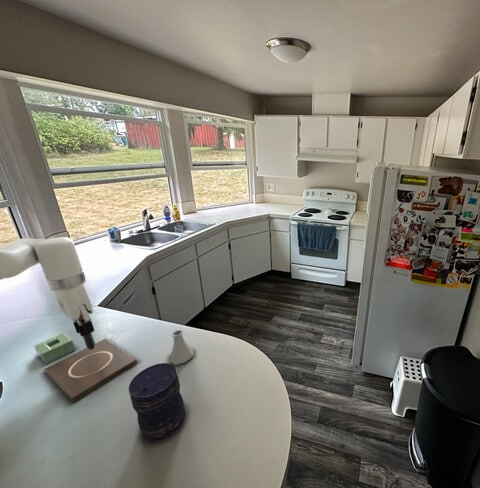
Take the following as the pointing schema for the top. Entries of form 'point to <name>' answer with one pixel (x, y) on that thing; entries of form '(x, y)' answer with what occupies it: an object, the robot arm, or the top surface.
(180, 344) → the flask
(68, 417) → the top surface
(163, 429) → the storage jar
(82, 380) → the board
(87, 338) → the marker
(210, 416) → the top surface
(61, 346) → the pen stand
